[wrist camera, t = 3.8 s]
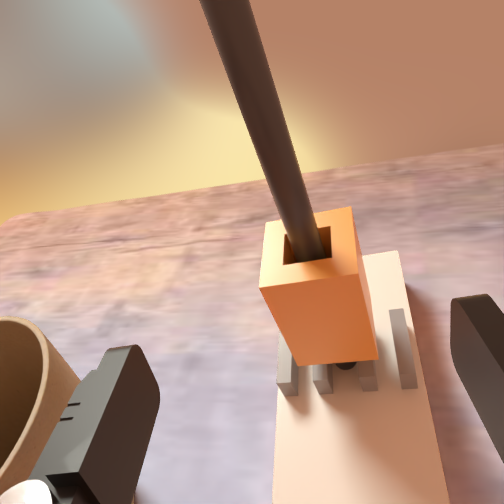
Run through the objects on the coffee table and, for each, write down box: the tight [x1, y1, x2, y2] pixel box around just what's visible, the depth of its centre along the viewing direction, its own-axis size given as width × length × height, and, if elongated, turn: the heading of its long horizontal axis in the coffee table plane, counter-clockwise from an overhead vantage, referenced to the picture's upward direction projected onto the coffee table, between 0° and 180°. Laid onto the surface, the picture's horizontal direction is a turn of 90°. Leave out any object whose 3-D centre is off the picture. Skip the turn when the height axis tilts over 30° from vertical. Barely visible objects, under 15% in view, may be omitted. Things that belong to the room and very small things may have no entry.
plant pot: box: [0, 316, 134, 504], centre depth 28 cm, size 15×15×16 cm
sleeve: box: [259, 206, 379, 366], centre depth 25 cm, size 5×5×8 cm
